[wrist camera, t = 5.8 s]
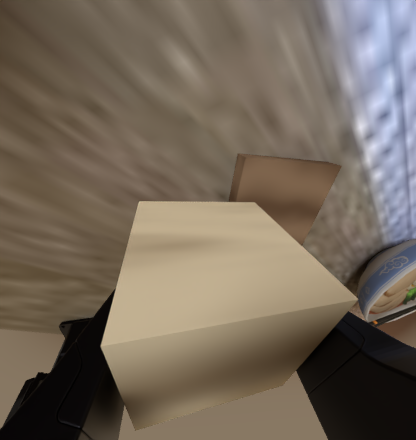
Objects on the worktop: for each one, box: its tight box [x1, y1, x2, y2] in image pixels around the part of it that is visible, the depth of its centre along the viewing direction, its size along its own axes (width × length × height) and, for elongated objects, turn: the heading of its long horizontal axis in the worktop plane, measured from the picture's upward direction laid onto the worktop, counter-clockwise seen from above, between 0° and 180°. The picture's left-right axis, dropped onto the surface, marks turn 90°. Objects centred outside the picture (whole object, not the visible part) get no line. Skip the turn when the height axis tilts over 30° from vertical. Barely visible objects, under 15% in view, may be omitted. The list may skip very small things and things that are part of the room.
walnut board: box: [229, 154, 341, 246], centre depth 22 cm, size 12×12×2 cm
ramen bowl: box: [357, 239, 416, 327], centre depth 34 cm, size 25×23×8 cm
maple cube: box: [101, 201, 359, 430], centre depth 8 cm, size 6×6×6 cm
